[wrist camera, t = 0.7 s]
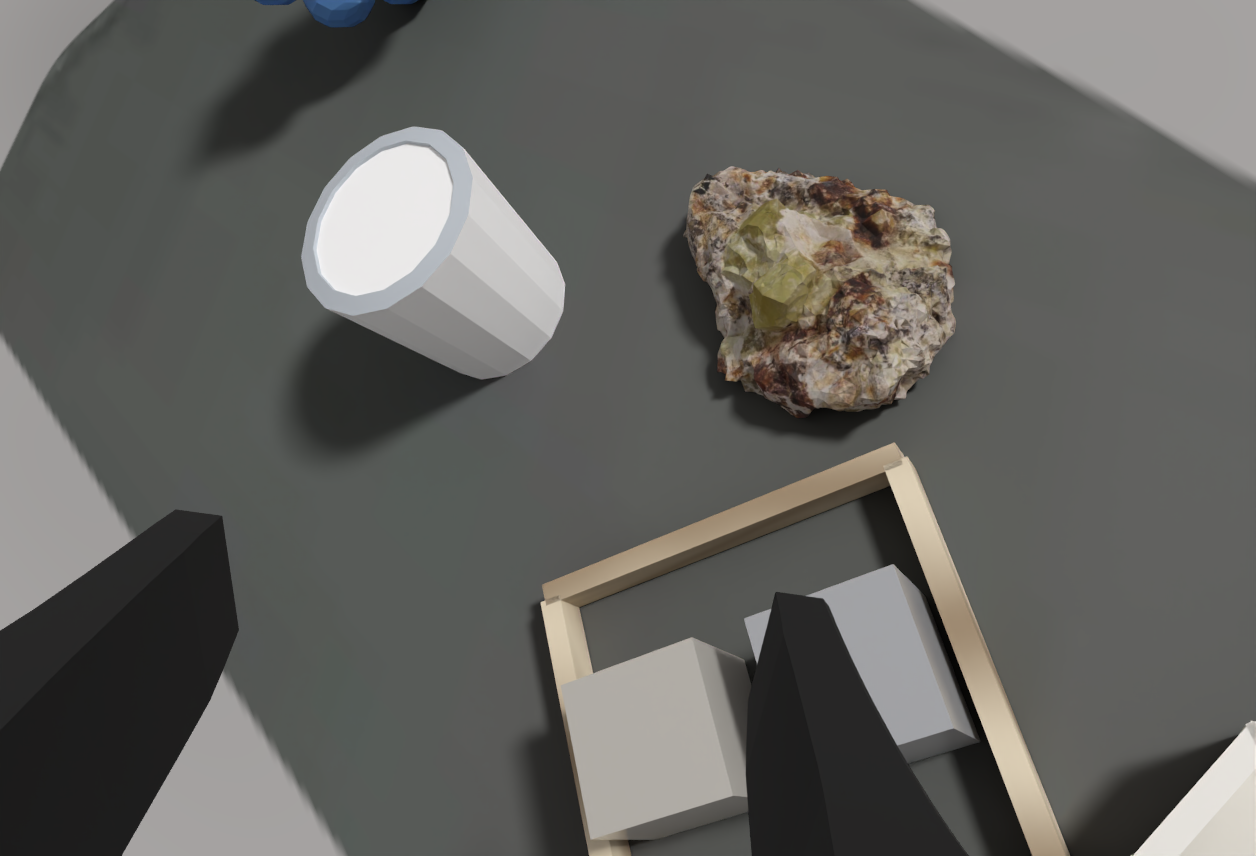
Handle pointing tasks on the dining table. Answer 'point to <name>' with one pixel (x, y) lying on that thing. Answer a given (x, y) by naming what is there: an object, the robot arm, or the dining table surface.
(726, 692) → the beige grey cube
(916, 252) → the mineral rock
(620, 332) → the dining table surface
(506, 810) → the dining table surface
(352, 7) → the blue knobbed flower
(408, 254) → the white cup
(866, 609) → the matte grey cube
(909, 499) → the parts frame
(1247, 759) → the bowl
